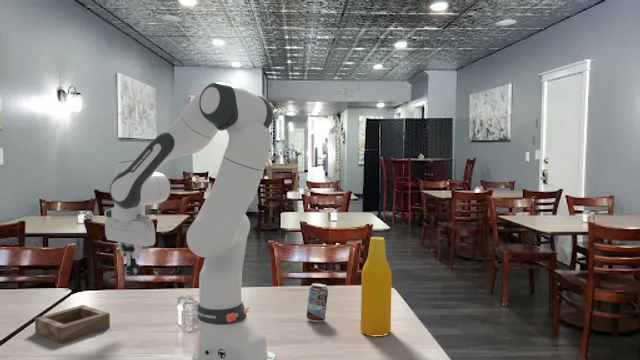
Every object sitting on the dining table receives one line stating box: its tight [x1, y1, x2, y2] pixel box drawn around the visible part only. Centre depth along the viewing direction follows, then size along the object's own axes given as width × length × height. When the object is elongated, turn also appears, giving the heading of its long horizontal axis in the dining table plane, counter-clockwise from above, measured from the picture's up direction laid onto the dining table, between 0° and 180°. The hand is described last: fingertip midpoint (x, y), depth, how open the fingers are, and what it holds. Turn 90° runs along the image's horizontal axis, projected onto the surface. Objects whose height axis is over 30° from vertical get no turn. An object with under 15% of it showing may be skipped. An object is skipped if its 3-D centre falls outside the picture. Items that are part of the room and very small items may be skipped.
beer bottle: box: [359, 236, 393, 335], centre depth 149 cm, size 9×9×29 cm
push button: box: [122, 243, 140, 277], centre depth 152 cm, size 7×5×10 cm
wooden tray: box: [34, 304, 111, 344], centre depth 148 cm, size 14×15×4 cm
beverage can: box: [306, 283, 329, 323], centre depth 159 cm, size 6×7×12 cm
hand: (130, 257), depth 152 cm, fingers closed on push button, 4 cm apart
